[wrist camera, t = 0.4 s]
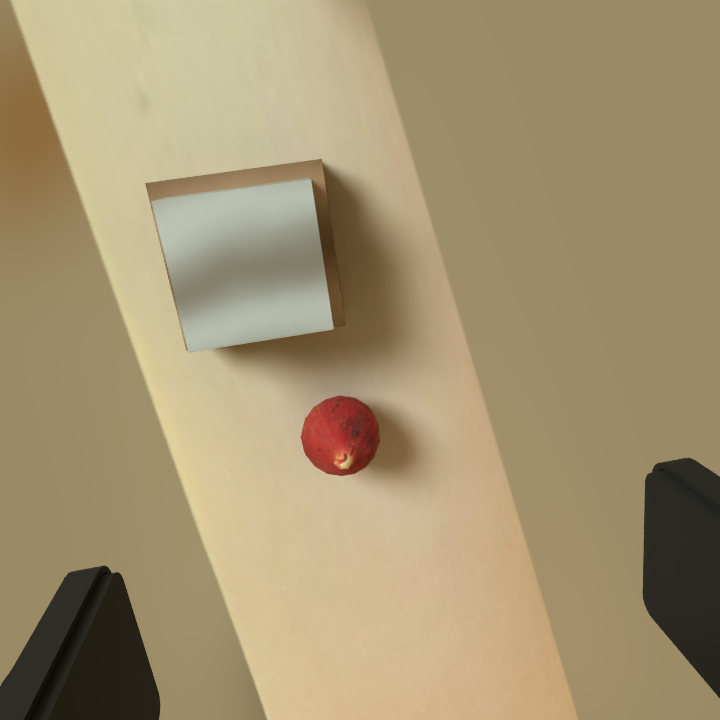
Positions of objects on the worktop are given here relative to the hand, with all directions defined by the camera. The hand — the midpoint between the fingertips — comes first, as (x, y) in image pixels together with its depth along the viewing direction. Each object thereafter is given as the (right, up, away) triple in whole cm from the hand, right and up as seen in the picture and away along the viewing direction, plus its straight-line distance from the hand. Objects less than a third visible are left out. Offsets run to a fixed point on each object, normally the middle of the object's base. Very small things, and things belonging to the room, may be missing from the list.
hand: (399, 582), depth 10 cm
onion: (-3, 0, +36) cm, 36 cm away
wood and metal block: (-8, +12, +31) cm, 34 cm away
